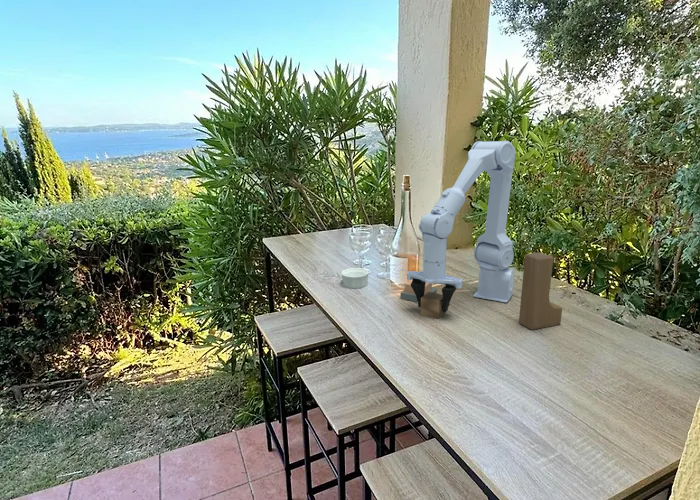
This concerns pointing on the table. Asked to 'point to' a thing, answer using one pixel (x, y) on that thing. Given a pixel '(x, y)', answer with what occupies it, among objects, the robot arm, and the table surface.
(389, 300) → the table surface
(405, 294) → the tower base
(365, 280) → the ramekin
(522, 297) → the wooden block
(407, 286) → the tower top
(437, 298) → the walnut cube
